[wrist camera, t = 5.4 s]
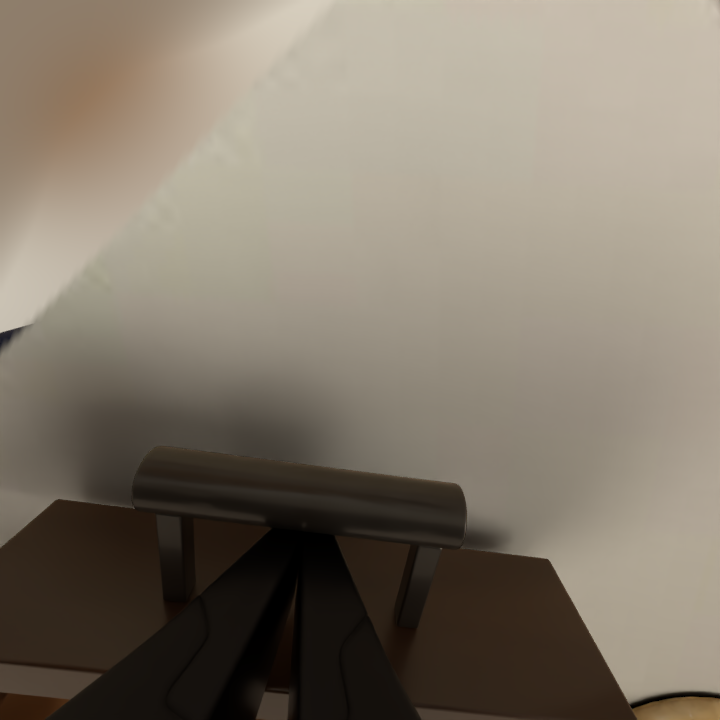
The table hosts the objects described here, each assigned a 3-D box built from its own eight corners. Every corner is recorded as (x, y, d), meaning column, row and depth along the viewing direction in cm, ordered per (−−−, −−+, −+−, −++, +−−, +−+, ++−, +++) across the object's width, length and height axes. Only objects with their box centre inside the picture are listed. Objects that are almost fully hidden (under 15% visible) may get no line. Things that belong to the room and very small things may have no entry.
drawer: (30, 377, 10) (-213, 482, 6) (598, 452, 10) (749, 598, 6) (111, 750, 17) (29, 916, 13) (445, 782, 17) (469, 953, 13)
